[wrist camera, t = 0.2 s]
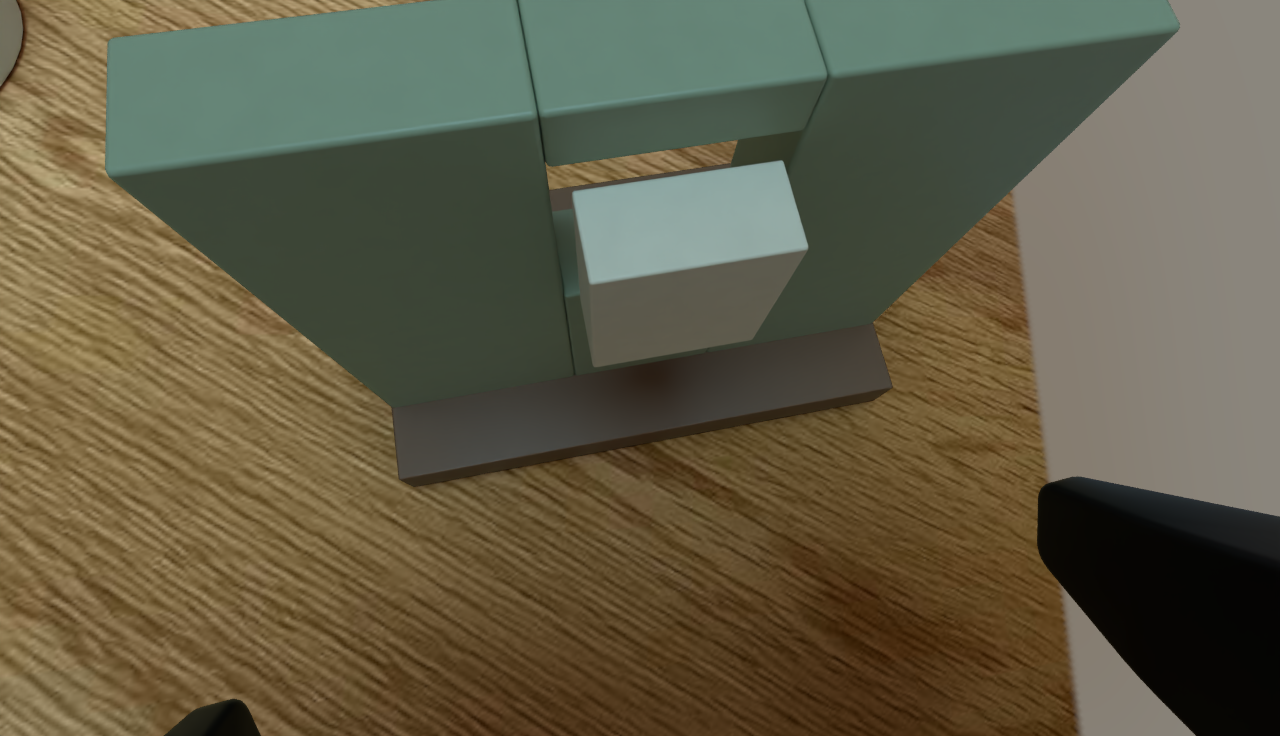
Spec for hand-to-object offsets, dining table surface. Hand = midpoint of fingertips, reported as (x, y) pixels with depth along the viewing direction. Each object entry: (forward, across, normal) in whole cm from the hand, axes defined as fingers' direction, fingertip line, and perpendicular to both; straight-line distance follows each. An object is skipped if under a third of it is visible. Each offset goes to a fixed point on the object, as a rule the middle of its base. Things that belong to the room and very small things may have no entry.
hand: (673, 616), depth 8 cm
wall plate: (+15, -2, 0) cm, 15 cm away
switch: (+7, -2, -1) cm, 7 cm away
